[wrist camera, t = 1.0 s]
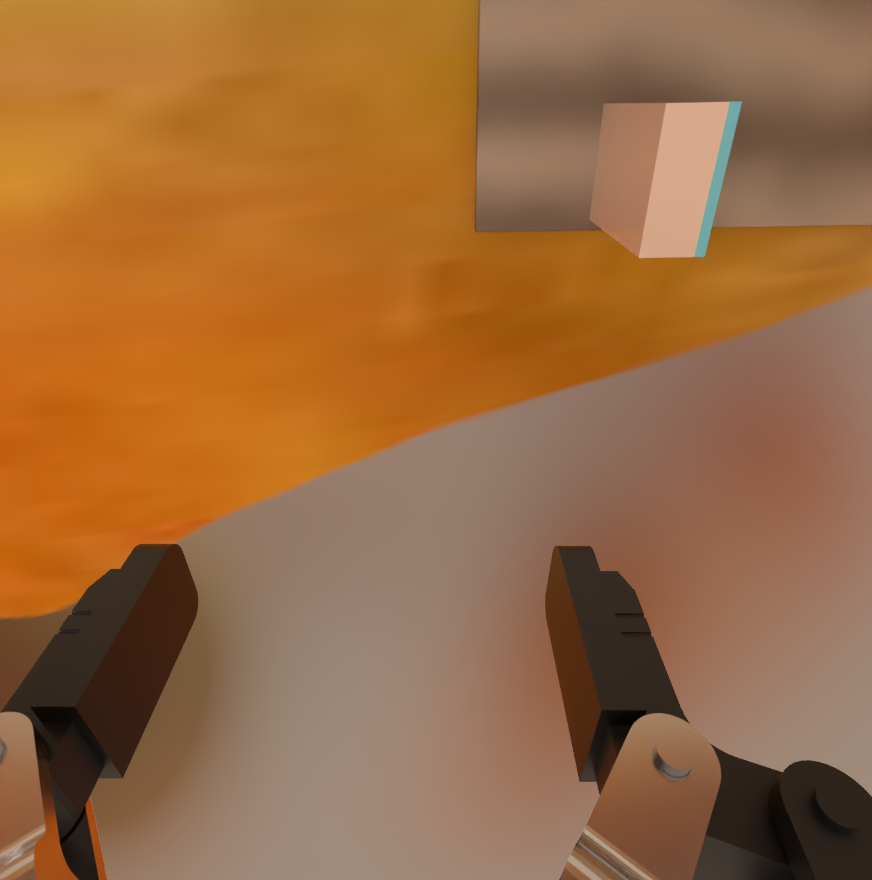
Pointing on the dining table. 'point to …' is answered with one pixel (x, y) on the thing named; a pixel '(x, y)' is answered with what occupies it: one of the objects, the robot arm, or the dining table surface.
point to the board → (675, 80)
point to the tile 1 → (662, 174)
